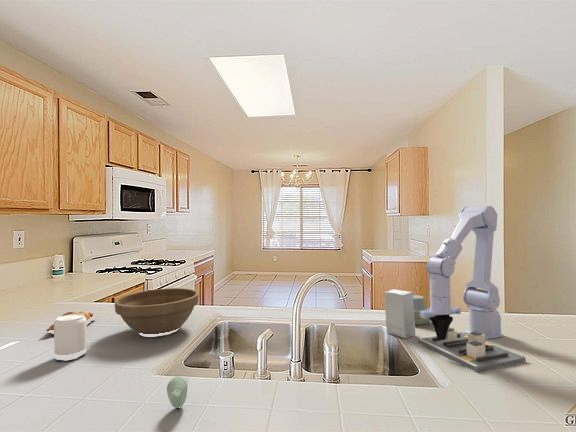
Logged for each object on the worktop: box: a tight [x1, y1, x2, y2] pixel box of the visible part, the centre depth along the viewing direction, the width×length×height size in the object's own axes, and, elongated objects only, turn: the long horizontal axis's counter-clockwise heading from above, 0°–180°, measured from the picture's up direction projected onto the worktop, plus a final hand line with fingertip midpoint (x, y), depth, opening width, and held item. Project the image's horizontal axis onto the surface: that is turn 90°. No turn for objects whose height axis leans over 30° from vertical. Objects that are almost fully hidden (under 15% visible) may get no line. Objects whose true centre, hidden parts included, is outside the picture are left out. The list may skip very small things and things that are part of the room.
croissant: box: [46, 311, 95, 332], centre depth 127 cm, size 21×10×8 cm, turn 167°
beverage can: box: [53, 314, 88, 355], centre depth 100 cm, size 8×8×12 cm
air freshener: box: [413, 294, 431, 326], centre depth 128 cm, size 11×8×10 cm
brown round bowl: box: [114, 287, 199, 334], centre depth 122 cm, size 28×28×13 cm
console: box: [417, 331, 527, 373], centre depth 100 cm, size 18×22×2 cm
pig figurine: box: [166, 375, 189, 409], centre depth 72 cm, size 8×4×7 cm, turn 2°
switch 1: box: [442, 326, 458, 342], centre depth 105 cm, size 4×3×4 cm
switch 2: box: [467, 341, 485, 360], centre depth 93 cm, size 4×3×4 cm
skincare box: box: [383, 288, 416, 339], centre depth 116 cm, size 8×6×15 cm
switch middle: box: [468, 331, 486, 345], centre depth 101 cm, size 4×3×4 cm
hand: (441, 338), depth 104 cm, fingers closed
